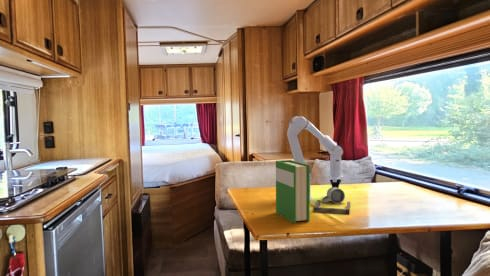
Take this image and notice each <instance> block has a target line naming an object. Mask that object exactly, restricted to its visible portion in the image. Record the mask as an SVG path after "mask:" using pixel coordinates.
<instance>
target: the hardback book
mask: <svg viewBox="0 0 490 276" xmlns="http://www.w3.org/2000/svg"><path fill="white" fill-rule="evenodd" d="M310 166H311V165H310V164H307V163H305V164H304V163H300V162H296V161H294V160H292V159H286V160H285V159H284V160H276V161H275V213H276V214H277V215H279V216H280V217H282V218H283V219H286V220H287V221H289V222H290V223H292V224H296V223H297V222H299V221H306V222H307V223H310V221H311V220H310V211H311V210H310V205H311V204H310V202H311V201H310V197H311V181H310V174H311V171H310V169H311V168H310Z"/></svg>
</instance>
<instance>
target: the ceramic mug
mask: <svg viewBox="0 0 490 276" xmlns="http://www.w3.org/2000/svg"><path fill="white" fill-rule="evenodd" d="M345 198H346V194H345V192H344V190H343V189H342V188H336V187H332V186H331V187H330V188H328V189H327V190H326V196H323V197H322V198H321V201H322V202H323V203H328V202H332V203H333V204H336V205H339V204H341V203H343V201H344V200H345Z"/></svg>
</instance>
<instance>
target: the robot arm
mask: <svg viewBox="0 0 490 276" xmlns="http://www.w3.org/2000/svg"><path fill="white" fill-rule="evenodd" d="M302 130H307V131H308V132H309V133H311V134H312V135H313V136H314V137H315V138H317V139H318V142H319V144H320V145H321V146H322V147H323V148H324V149H325V150H326V151H327V152H328V154H329V178H330V180H329V183H330V185H331V187H336V188H339V187H340V184H341V182H342V179H344V176H343V175H342V156H343V154H344V150H343V148H342V147H341V146H340V145H338V143H337V141H334V140H333V139H332V136H330V135H327V134H326V135H325V134H323V133H322V132H321V131H320V130H319V129H318V128H317V127H316V126H315V125H314V124H313V123H312V122H311V121H310V120H308V119H307V118H306V117H305V116H301V115H300V116H298V115H296V116H293V117H292V118H291V119H290V121H289V123H288V128H287V132H286V136H287V140H288V143H289V146H290V151H291V154H292V157H293V161H296V162H300V163H304V164H306V163H305V159H304V155H303V152H302V148H301V145H300V141H299V138H298V135H299V134H300V132H301V131H302ZM311 181H312V173H310V182H311ZM339 189H340V188H339ZM312 199H313V197H311V196H310V202H311V201H312Z"/></svg>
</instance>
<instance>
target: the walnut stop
mask: <svg viewBox="0 0 490 276" xmlns="http://www.w3.org/2000/svg"><path fill="white" fill-rule="evenodd" d="M345 207H346V208H338V207H325V206H324V207H322V206H321V200H320V199H317V200H316V203H315V204H314V206H313V213H323V214H324V213H326V214H338V213H339V214H341V215H350V211H351V201H346V206H345ZM339 214H338V215H339Z"/></svg>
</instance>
